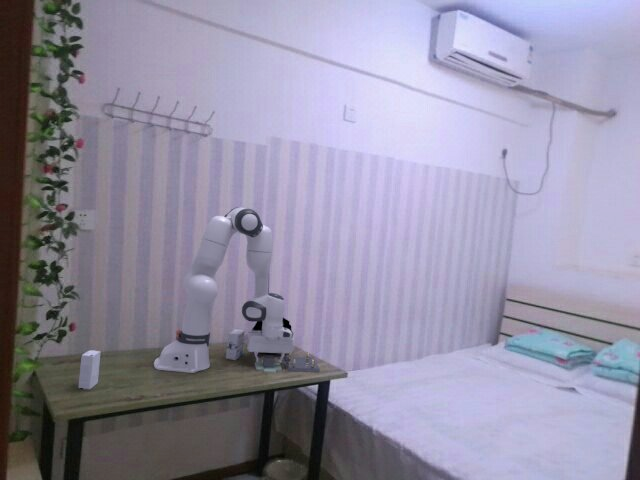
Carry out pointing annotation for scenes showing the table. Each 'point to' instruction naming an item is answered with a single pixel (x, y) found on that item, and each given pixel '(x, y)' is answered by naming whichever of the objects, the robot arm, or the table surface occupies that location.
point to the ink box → (235, 344)
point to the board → (260, 367)
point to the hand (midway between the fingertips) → (268, 362)
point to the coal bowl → (285, 322)
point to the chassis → (301, 364)
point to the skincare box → (89, 369)
